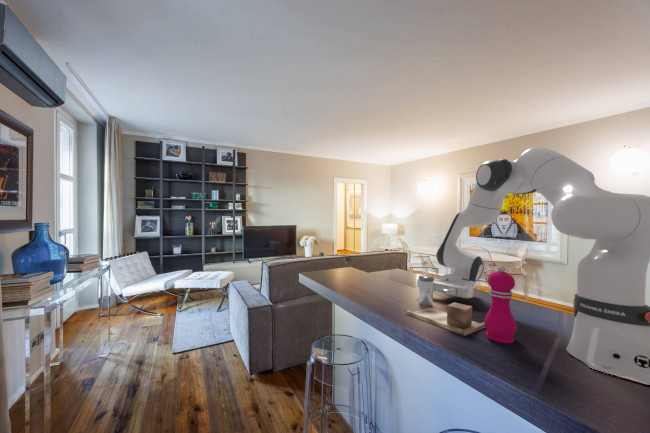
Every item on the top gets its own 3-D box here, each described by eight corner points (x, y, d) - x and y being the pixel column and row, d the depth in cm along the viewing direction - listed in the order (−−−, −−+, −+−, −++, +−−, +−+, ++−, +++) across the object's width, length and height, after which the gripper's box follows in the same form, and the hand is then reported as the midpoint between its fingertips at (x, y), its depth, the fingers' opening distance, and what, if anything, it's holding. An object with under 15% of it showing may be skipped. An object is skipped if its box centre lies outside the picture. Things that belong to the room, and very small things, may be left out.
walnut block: (471, 327, 79) (472, 306, 79) (465, 332, 75) (466, 310, 75) (453, 322, 82) (454, 302, 82) (446, 326, 79) (447, 305, 79)
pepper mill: (485, 334, 77) (487, 262, 77) (516, 341, 73) (518, 265, 73) (482, 343, 71) (484, 265, 72) (516, 351, 67) (518, 269, 67)
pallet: (488, 330, 80) (488, 322, 80) (464, 340, 73) (464, 331, 73) (430, 311, 96) (430, 304, 96) (406, 317, 88) (406, 310, 88)
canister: (436, 308, 99) (437, 277, 99) (427, 310, 96) (428, 279, 96) (423, 304, 103) (424, 275, 103) (414, 306, 100) (415, 276, 101)
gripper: (427, 272, 120) (409, 276, 111) (477, 281, 104) (460, 286, 95) (427, 287, 120) (408, 291, 111) (477, 298, 104) (460, 304, 95)
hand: (433, 289), depth 103 cm, fingers open, 8 cm apart
